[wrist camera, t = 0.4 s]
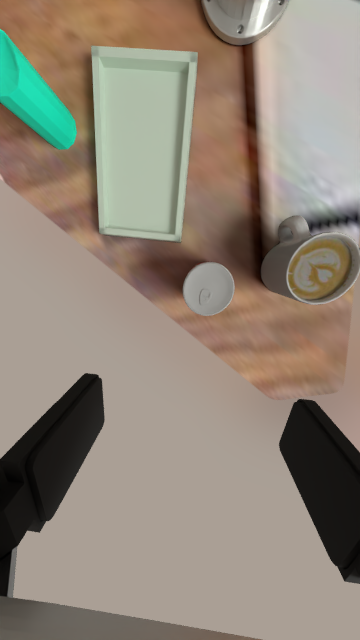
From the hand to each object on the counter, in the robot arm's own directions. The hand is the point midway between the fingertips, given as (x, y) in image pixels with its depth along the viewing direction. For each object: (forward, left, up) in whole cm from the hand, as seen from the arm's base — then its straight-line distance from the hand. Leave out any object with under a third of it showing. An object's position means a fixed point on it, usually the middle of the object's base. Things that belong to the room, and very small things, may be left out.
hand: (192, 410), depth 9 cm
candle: (-26, -26, -30) cm, 48 cm away
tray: (-22, -11, -30) cm, 39 cm away
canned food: (-3, +2, -30) cm, 31 cm away
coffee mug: (-9, +17, -30) cm, 36 cm away
